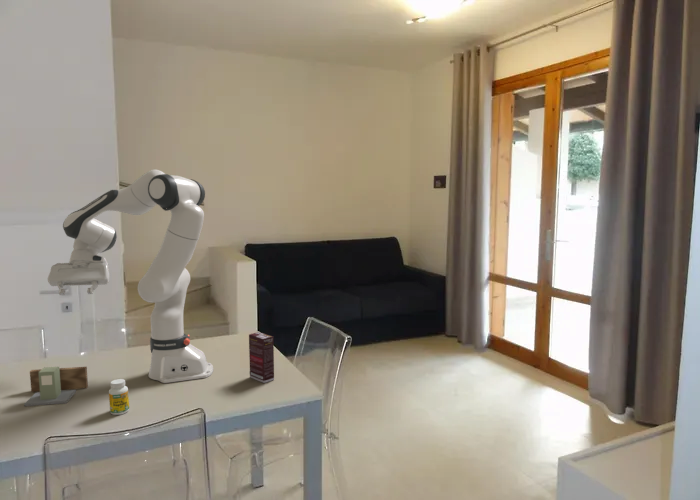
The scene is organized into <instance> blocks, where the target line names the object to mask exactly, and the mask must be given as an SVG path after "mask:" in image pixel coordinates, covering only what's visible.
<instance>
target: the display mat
mask: <svg viewBox="0 0 700 500" xmlns="http://www.w3.org/2000/svg"><path fill="white" fill-rule="evenodd" d="M76 392H77V389H67V390H61V394H60V395H59V396H58V397H57V398H56V399H45V400H41V399H40V391H37V392H35V393H34V394H33V395H31V396H30V398H28V399H27V400H26V401H25V402H24V403H23V404H24V405H23V406H24V407H31V406H32V407H33V406H45V405H57V404H58V405H59V404H67V403H68V402H69V401H70V400H71V398H72V397H73V396H74V394H75V393H76Z"/></svg>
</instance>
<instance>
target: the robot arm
mask: <svg viewBox="0 0 700 500" xmlns="http://www.w3.org/2000/svg"><path fill="white" fill-rule="evenodd" d="M205 198H206V191H205V188H204V186H203V184H202V183H200V182H199V181H196V180H195V179H190V178H187V177H183V176H181V175H176V174H175V175H173V174H167V173H165V172H164V171H162V170H159V169H155V168H154V169H150V170H148V171H147V172H146V173H144V174H142V175H141V176H139V177H138V178H137V179H135V180H134V181H133V182H132V183H130V184H129V185H128V186H126V187H124V188H121V189H120V188H119V189H110V190H108V191H107V192H105V193H103V194H102V195H100V196H98V197H97V198H95V199H94V200H92V201H90V202H89V203H87V204H86V205H85V206H83V207H82V208H80V209H77V210H74V211H73V212H71V213H70V214H68V215H67V216H66V218H65V219H64V221H63V224H62V228H63V231H64V233H65V235H66V237H69V238H72V239H74V241H73V245H72V247H73V248H72V249H73V250H72V251H71V254H70V258H69V261H68V262H62V263H61V262H58V263H56V264H53V265H51V267H50V271H49V274H48V277H47V282H48V284H49V285H50V286H51V287H58V294H59V296H65V294H66V290H65V288H64V286H65V287H70V286H90V287H87V291H86V292H87V295H93V293H94V291H95V290H96V289H97V288H98V287H99V286H100V285H101V286H102V285H105V286H106V285H108V283H109V282H110V276H111V275H110V274H111V273H110V270H109V268H110V267H109V263H108V260H107V259H106V257H105V256H103V255H98V254H101V253H104V252H107V251H109V250H111V249H112V248H113V247H114V246H115V244H116V241H117V238H118V235H117V231H116V229H115V228H114V227H113V226H111V225H109V224H107V223H105V222H102V221H100V220H98V219H96V218H97V217H98V216H100V215H101V214H103V213H105V212H108V211H109V212H111V211H112V212H119V213H124V214H128V215H132V216H142V215H145V214H146V213H149V212H150V211H152V210H153V209H154V208H155V207H156V206H157V205H158V206H159V207H160V208H161V209H162V210H163V211H165V212H166V211H167V212H169V211H170V214H171V218H170V221H169V223H168V226H167V229H166V232H165V235H164V237H163V240H162V243H161V246H159V247H160V248H159V250H158V252H157V254H156V255H155V257H154V259H153V260H152V262H151V264H150V266H149V268H148V269H147V270H146V273H145V274H144V275H142V278H140V280H139V281H138V284H137V293H138V296H139V297H140V298H141V299H142V300H143V301H145V302H147V303H152V304H153V303H154V307H153V309H152V311H151V314H150V331H151V333H150V334H151V335H150V339H149V347H150V353H151V359H150V368H149V372H148V378H149V379H151V380H154V381H157V382H158V381H159V382H161V383H163V384H168V383H176V382H182V381H191V380H197V379H204V378H205V379H206V378H208V377H210V376H211V375H212V374H213V373H214V365H213V364H212V363H211V362H208V361H207V357H206V355H205V352H204V351H203V350H201V349H199V348H197V347H196V346H194V345H193V344H191V338H190V334H186V333H185V331H184V329H185V328H184V311H185V309H184V308H185V303H186V298H187V297H186V296H187V291H188V288H189V285H190V283H191V274H190V272H189V270H188V269H187V268H186V267H187V265H188V264H189V263H190V261H192V258H193V256H194V253H195V250H196V248H197V244H198V242H199V240H200V236H201V232H202V231H203V225H204V220H205V212H204V210H203V208H202V207H200V206H201V205H202V204H203V202H204V200H205Z"/></svg>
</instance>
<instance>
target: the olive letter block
mask: <svg viewBox="0 0 700 500" xmlns="http://www.w3.org/2000/svg"><path fill="white" fill-rule="evenodd" d="M59 368H60V366H47V367H45V366H44V367H43V368H41V369H42V370H41V371H39V372H38V373H39V386H40V391H39V392H40V399H41V400H45V399H56V398H57V397H58V396H59V395H60V394H61V391H62V390H61V384H60V370H59Z"/></svg>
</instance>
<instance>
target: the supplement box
mask: <svg viewBox="0 0 700 500" xmlns="http://www.w3.org/2000/svg"><path fill="white" fill-rule="evenodd" d="M274 342H275V341H274V336H272V335H269V334H266V333H263V332H260V331H258V332H254V333H250V334H248V351H249V353H248V354H249V356H248V357H249V378H251V379H253V380H256V381H257V382H261V383H263V384H266V383H270V382H273V381H275V358H274V357H275V356H274V354H275V353H274V351H275V349H274Z"/></svg>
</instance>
